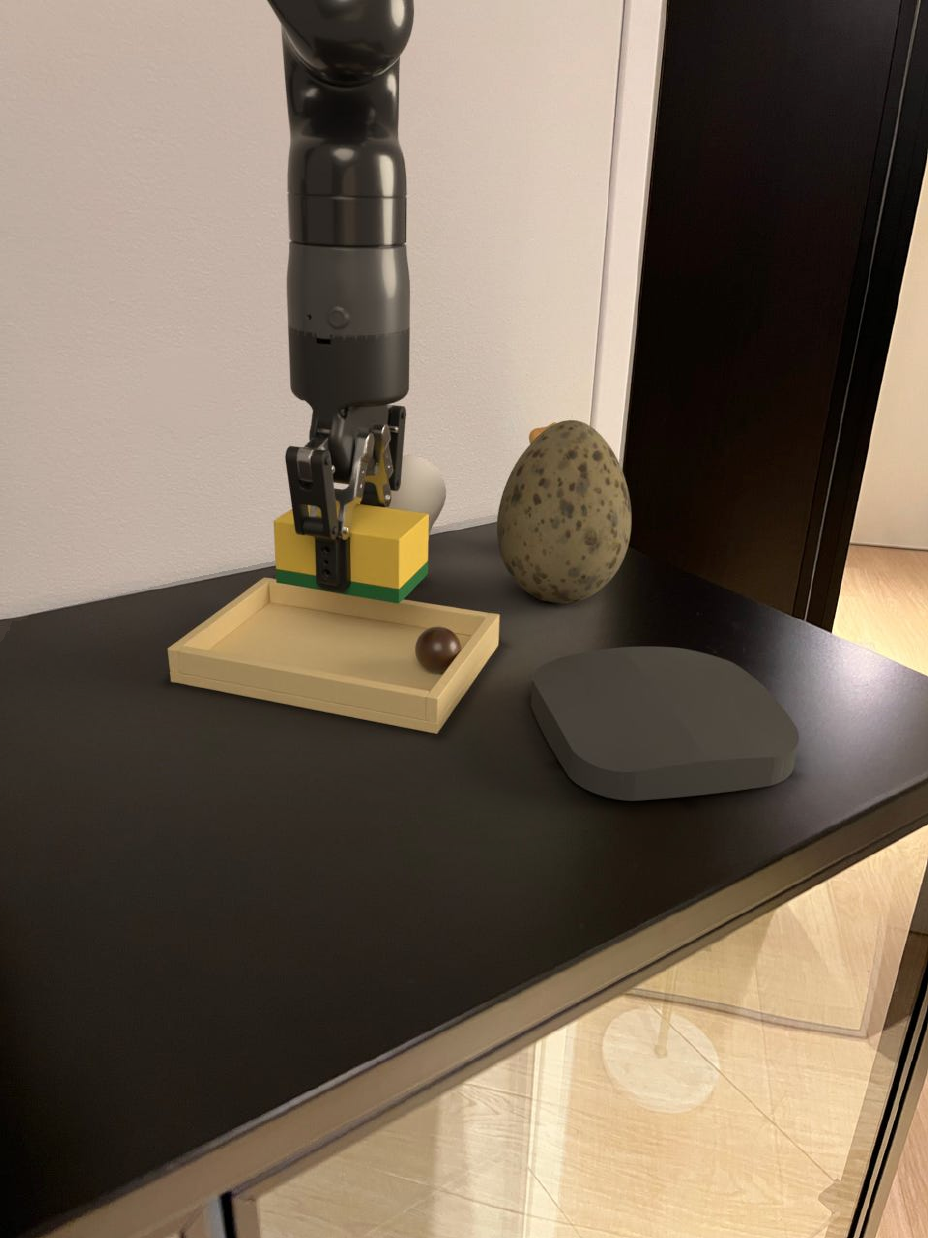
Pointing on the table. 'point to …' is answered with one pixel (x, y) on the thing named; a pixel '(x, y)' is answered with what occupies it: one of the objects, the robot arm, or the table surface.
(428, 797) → the table surface
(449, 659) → the ball
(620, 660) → the media streaming box
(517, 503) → the decorative egg
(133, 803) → the table surface
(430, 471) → the lightbulb
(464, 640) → the tray
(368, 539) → the sponge
